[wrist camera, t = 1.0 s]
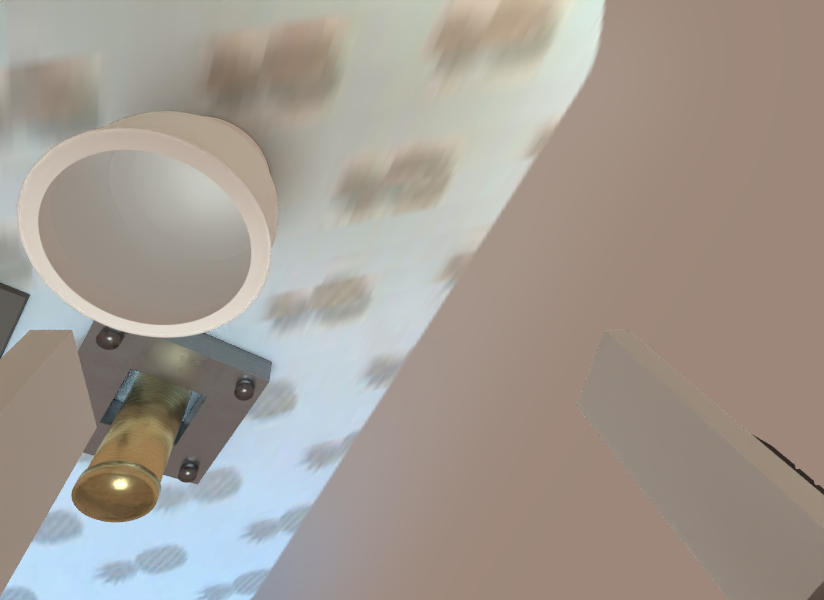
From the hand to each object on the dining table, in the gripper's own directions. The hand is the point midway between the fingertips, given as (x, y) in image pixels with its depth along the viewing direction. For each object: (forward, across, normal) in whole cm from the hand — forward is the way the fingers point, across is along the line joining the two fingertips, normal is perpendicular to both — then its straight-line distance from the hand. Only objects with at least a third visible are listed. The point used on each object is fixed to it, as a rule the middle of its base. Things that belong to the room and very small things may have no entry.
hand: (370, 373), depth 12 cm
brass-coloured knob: (+27, -14, -21) cm, 37 cm away
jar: (+27, -9, -2) cm, 29 cm away
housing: (+27, -14, -21) cm, 37 cm away
